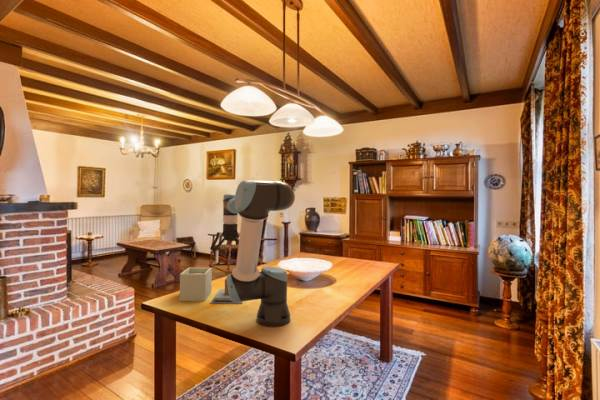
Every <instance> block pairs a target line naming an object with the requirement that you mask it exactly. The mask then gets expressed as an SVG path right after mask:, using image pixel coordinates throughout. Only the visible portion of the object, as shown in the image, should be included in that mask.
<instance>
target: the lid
mask: <svg viewBox="0 0 600 400" xmlns="http://www.w3.org/2000/svg"><path fill="white" fill-rule="evenodd" d="M217 292H218V293H217ZM217 292H216V294H215V295H214V296H213V298H214V300H218V301H231V300H230V297H229V293H228V287H227V276H226V278H225V279H224V289H223V288H221V289H219V290H218V291H217Z"/></svg>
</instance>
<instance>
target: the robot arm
mask: <svg viewBox="0 0 600 400" xmlns="http://www.w3.org/2000/svg"><path fill="white" fill-rule="evenodd" d="M295 200H296V195H295V191H294V190H293V188H292V187H291V186H290V185H289V184H287V183H285V182H282V181H278V180H273V181H272V180H255V179H251V180H242V181H240V182H239V184H238V185H237V187H236V191H235V194H232V193H231V194H230V193H228V194H227V193H225V194H224V195H223V199H222V202H223V205H222V207H223V210H222V212H223V213H222V214H223V215H222V223H223V224H222V232H220V231H218V232H216V236H215V238H214V240H213V243H212V244H211V246H210V248H209V249H210V251H213V257H215V264H218V263H219V250H218V249H219V247H221V246H222V245H223V243H224V242H225V241H227V242H229V241H232V242H233V241H234V242H235V243H236V244H237V245H238V247H237V257H236V265H235V266H234V267H233V268H232V271H231V273H229V274H227V276H226V277H227V287H228V293H229V297H230V300H231V301H232V302H242V301H243V302H247V301H255V300H256V301H257V300H260V303H259V307H258V310H257V314H256V322H257V323H258V324H259V325H262V326H264V327H269V328H272V327H273V328H274V327H275V328H276V327H281V326H285V325H287V324H288V323H289V322H290V321H291V312H290V309H289V306H288V302H287V301H288V281H289V280H288V272H287V271H286V270H285V269H283V268H280V267H275V266H263V267H261V269H260V270H261V271H260V270H259V269H258V262H259V255H260V249H261V243H262V242H261V241H262V235H263V234H262V233H263V228H264V220H266V219H267V218H269V213H270V212H275V211H276V212H277V211H285V210H288V209H289V208H291V207H292V206H293V205H294V203H295ZM238 216H239V217H240V218H241V220H240V221H241V223H240V229H239V232H238V221H239V220H238V219H239V218H238ZM221 236H222V237H223V238H222V239H221V241H219V242H218V240H219V238H220V237H221ZM238 237H239V238H238ZM216 244H217V245H216ZM243 302H242V303H243Z"/></svg>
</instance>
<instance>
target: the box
mask: <svg viewBox="0 0 600 400" xmlns="http://www.w3.org/2000/svg"><path fill="white" fill-rule="evenodd" d="M212 271H213V268H212V267H187V268H186V269H185V270H184V271H181V273H180V274H179V302H206V300H207V299H208V298H210V297H209V296H210V295H211V294H212V283H213V282H212V280H213V277H212V276H213V275H212V274H213V272H212ZM195 273H202V274H195Z"/></svg>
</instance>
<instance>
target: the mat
mask: <svg viewBox="0 0 600 400" xmlns="http://www.w3.org/2000/svg"><path fill="white" fill-rule="evenodd" d="M217 293H218V291H217V292H216V294H217ZM243 302H244V301H242V302H232V301H218V300H214V297H213V298H212V299H211V301H210V303H209V304H210V305H215V304H216V305H242V304H243Z"/></svg>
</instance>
